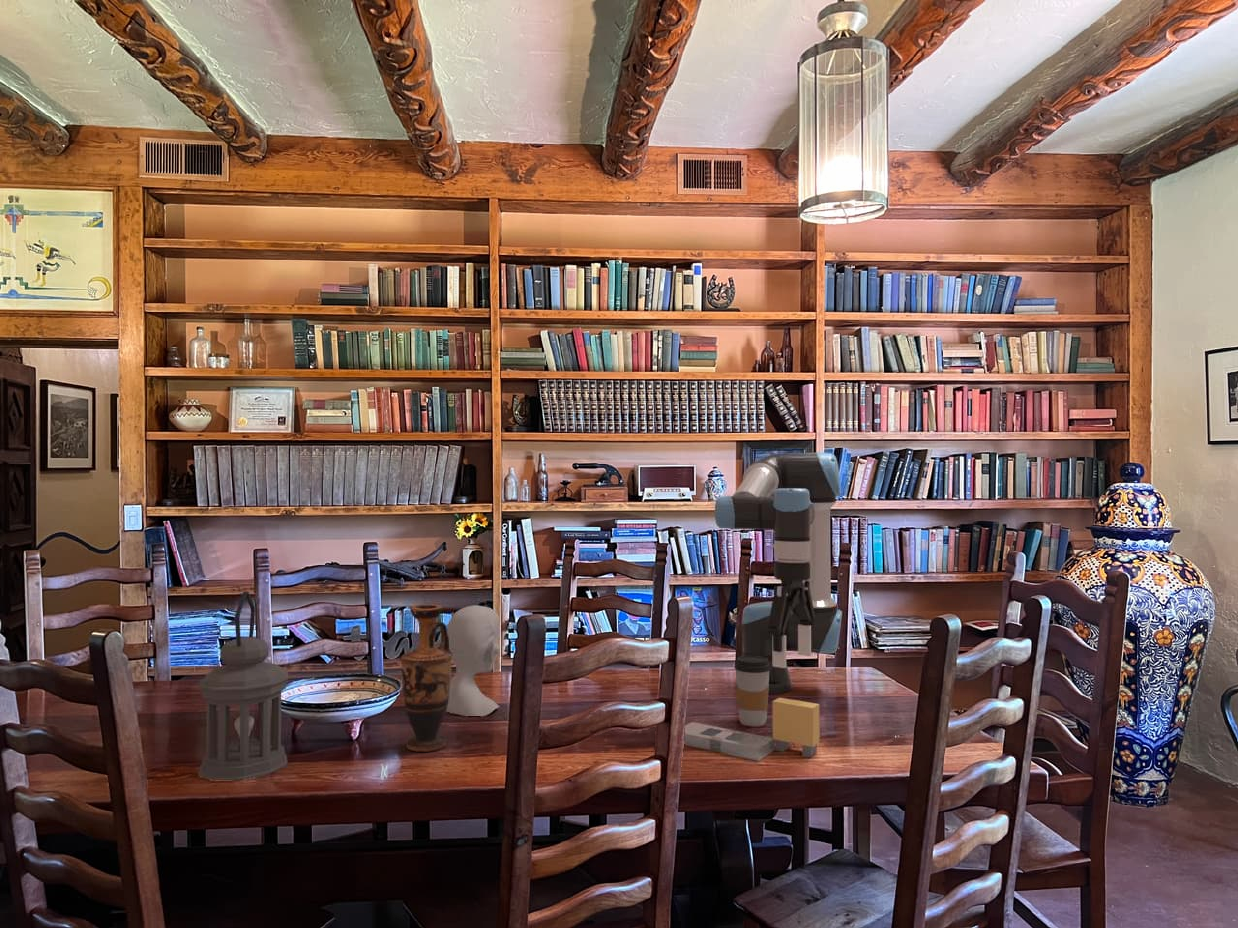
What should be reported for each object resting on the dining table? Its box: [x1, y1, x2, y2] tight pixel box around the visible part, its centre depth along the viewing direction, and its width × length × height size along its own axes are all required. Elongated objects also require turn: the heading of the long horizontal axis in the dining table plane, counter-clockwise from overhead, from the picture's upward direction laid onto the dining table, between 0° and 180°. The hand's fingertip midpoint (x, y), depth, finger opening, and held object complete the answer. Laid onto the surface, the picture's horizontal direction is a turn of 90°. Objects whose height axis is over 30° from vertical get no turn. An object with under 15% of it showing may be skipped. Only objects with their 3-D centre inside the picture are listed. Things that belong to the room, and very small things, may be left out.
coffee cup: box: [734, 655, 770, 727], centre depth 189 cm, size 8×8×15 cm
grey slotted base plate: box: [684, 721, 776, 762], centre depth 172 cm, size 20×8×2 cm, turn 56°
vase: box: [400, 603, 453, 753], centre depth 173 cm, size 11×11×30 cm
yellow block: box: [772, 697, 821, 758], centre depth 169 cm, size 9×4×10 cm, turn 56°
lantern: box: [197, 590, 290, 780], centre depth 161 cm, size 17×17×35 cm
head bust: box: [446, 604, 501, 717], centre depth 205 cm, size 22×19×25 cm
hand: (792, 661), depth 170 cm, fingers open, 13 cm apart
